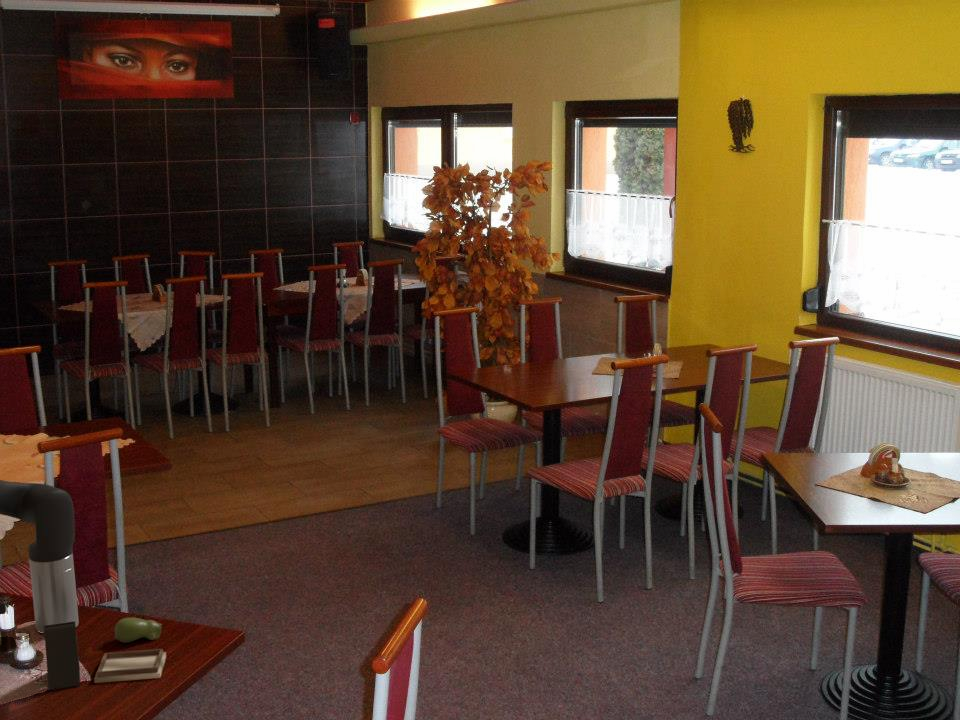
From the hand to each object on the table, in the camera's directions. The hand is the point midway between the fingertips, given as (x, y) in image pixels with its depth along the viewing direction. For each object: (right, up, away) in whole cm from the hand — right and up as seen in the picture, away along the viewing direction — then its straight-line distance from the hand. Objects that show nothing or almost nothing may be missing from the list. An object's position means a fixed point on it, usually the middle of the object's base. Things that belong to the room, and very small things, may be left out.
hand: (0, 616), depth 228 cm
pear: (+21, -11, +23) cm, 33 cm away
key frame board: (+24, -13, +8) cm, 28 cm away
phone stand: (+11, -14, +5) cm, 19 cm away
